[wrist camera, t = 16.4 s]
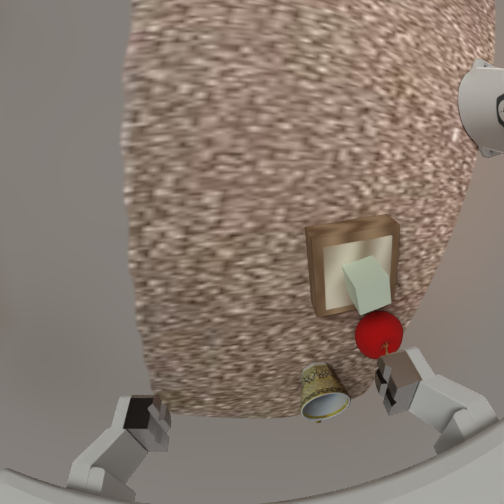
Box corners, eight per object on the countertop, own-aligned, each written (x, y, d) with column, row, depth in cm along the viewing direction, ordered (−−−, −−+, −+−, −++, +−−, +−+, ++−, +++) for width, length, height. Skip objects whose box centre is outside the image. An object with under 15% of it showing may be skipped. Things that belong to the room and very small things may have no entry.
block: (372, 255, 43) (388, 275, 37) (376, 281, 45) (391, 303, 39) (341, 266, 43) (355, 288, 38) (347, 292, 45) (360, 315, 40)
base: (386, 214, 45) (401, 225, 41) (383, 285, 51) (394, 301, 47) (304, 227, 46) (312, 240, 41) (311, 301, 52) (317, 318, 47)
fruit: (390, 295, 53) (413, 328, 44) (393, 328, 56) (412, 360, 48) (346, 312, 54) (363, 349, 45) (353, 344, 57) (368, 379, 49)
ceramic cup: (297, 357, 58) (305, 395, 49) (343, 354, 59) (356, 389, 50) (289, 394, 64) (295, 429, 55) (330, 391, 64) (339, 424, 55)
